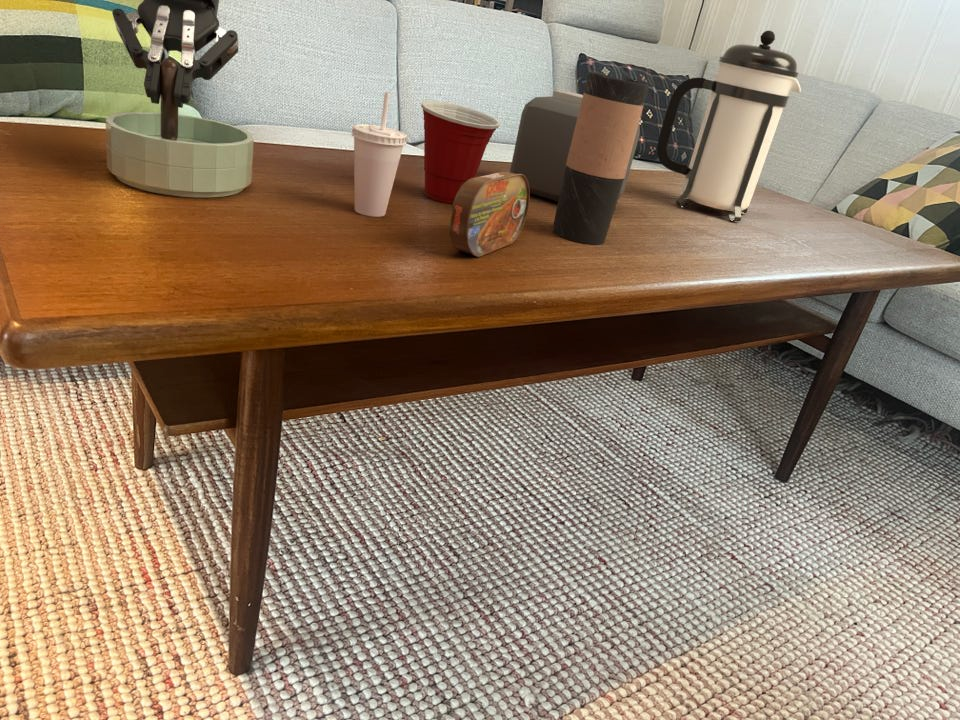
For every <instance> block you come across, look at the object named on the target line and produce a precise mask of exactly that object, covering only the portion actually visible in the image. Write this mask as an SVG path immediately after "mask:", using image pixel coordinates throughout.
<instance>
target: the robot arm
mask: <svg viewBox="0 0 960 720" xmlns="http://www.w3.org/2000/svg"><path fill="white" fill-rule="evenodd" d="M219 4H220V0H143V1H142V2H141V3H140V4H139V5H137V10H135V11H129V12H125V11H124V9H122V8H114V9H113V10H112V13H111V14H112V18H113V21H114V23H115V28H116V31H117V33H118V35H119V38H120V39H121V41H122V43H123V45H124V47H125V50H126V51H127V53H128V55H129V57H130V59H131V61H132V63H133V65H134V67H135V68H137V69H145V70H146V72H145V75H144V81H143V87H144V91H145V95H146V97H147V98H149V99H150V103H151V104H155V105H159V104H160V102H161V62H162V60H163V59H165V58H169V57H170V53H171V52H179V53H181V57H180V66H179V67H178V70H177V76H176V82H175V88H174V102H175V107H178V108H179V109H183V107H184V104H186V105H188V104H189V103H190V101H191V97H192V92H193V91H192V90H193V83H194V81H195V80H196V79H200V78H202V79H203V80H205V81H210V80H212V79H213V78H214V77H215V76H216V75H217V74H218V73H219V72H220V71H221V69H222V68H224V67H225V66H226V64H227V63H229V62H230V61H231V60H232V59H233V58H234V56H236V54H238V53H239V36H238V35H239V34H238V33H237V31H235V30H233V29H230V30H226V29H224V28H223V27H221V26H220V21H219V18H218V11H219ZM140 25H142V27H143V28H144V30H145V31H146V33H147V34H148V35H149V37H150V45H149V49H148V50H146V49H143V46H142V44H141V41H140V39H139V38H138V36H137V34H138V33H139V26H140ZM212 41H214V43H213V45H212V46H211V47H209V48H208V50H207V51H205V52H204V54H203V55H201V56H200V57H199V59H198V52H199V51H201V50H202V49H203V48H204V47H206V46H207V45H209V44H210V43H211V42H212Z"/></svg>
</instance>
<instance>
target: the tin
mask: <svg viewBox="0 0 960 720" xmlns="http://www.w3.org/2000/svg"><path fill="white" fill-rule="evenodd" d="M530 195H531V194H530V190H529V184H528V181H527V179H526V177H525V176H524V175H522V174H514V173H510V171H497V172H493V173H490V174H485V175H480V176H475V178H471V179H469V180H467V181H466V182H465V183H464V184H463V185H462V186H461V188H460V189H459V191H458V192H457V194H456V197H455V199H454V202H453V204H452V209H451V210H452V211H451V216H450V227H449V238H450V242H451V244H452V246H453V247H454V248H455V249H456V250H457V251H459V252H462V253H466V254H469V255H472V256H474V257H476V258H481V257H483V256H485V255H488V254H490V253H494V252H495V251H498V250H500V249H503V248H505V247H507V246H510V245H512V244H513V243H514V242H516V240H517V239H518V237H519V236H520V234H521V232H522V230H523V228H524V225H525V223H526V220H527V215H528V212H529V208H530V207H529V206H530V197H531V196H530Z"/></svg>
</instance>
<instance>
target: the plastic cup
mask: <svg viewBox="0 0 960 720" xmlns="http://www.w3.org/2000/svg"><path fill="white" fill-rule="evenodd" d="M420 105H421V107H420V108H421V109H422V114H423V129H424V134H423V135H424V138H423V139H424V140H423V141H424V142H423V144H424V146H423V147H424V148H423V170H424V190H425V191H424V192H425V194H424V195H425V196H426V197H427V198H429V199H431V200H433V201H437V202H441V203H446V204H452V205H453V202H454V199H455V197H456V194H457V192H458V191H459V189H460V188H461V186H462V185H463V184H464V183H465V182H466V181H467V180H469V179H471V178H475V177H477V173H478V170H479V167H480V164H481V162H482V160H483V157H484V154H485V152H486V149H487V145H489V142H490V140H491V138H492V136H493V134H494V133H495V131H496V129H499V127H500V126H501V125H500V124H501V122H500V121H499V120H498V119H497V118H495V117H493V116H491V115H488V114H487V113H484V112H483V111H482V112H481V111H479V110H476V109H473V108H470V107H467V106H462V105H459V104H454V103H449V102H445V101H438V100H423V101H422V102H421V104H420Z"/></svg>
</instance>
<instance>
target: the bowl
mask: <svg viewBox="0 0 960 720" xmlns="http://www.w3.org/2000/svg"><path fill="white" fill-rule="evenodd" d="M158 137H161V112H154V111H130V112H129V111H128V112H117V113H114V114H111V115H108V116H107V117H106V119H105V142H106V143H105V146H106V147H105V148H106V149H105V151H106V152H105V153H106V168H107V169H108V171H109V172H110V173H111V174H112V175H114V176H115V178H116V179H117V180H118V181H120V182H121V183H123V184H125V185H127V186H129V187H132V188H135V189H138V190H141V191H144V192H145V191H146V192H150V193H154V194H160V195H164V196H165V195H166V196H173V197H181V198H182V197H183V198H202V199H203V198H206V199H207V198H208V199H209V198H221V197H228V196H233V195H236V194H239V193H242V192H243V191H244V190H245V188H247V187H248V186H250V185H251V184H252V179H253V160H254V159H253V158H254V143H255V142H254V141H255V139H254V135H253V134H252V133H250V132H249V131H248V130H245V128H242V127H239V126H236V125H233V124H230V123H226V122H222V121H219V120H214V119H210V118H209V119H208V118H204V117H198V116H192V115H184V114H178V138H177V139H180V140H184V141H177V140H168V139H163V138H158ZM185 141H188V142H185Z"/></svg>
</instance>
